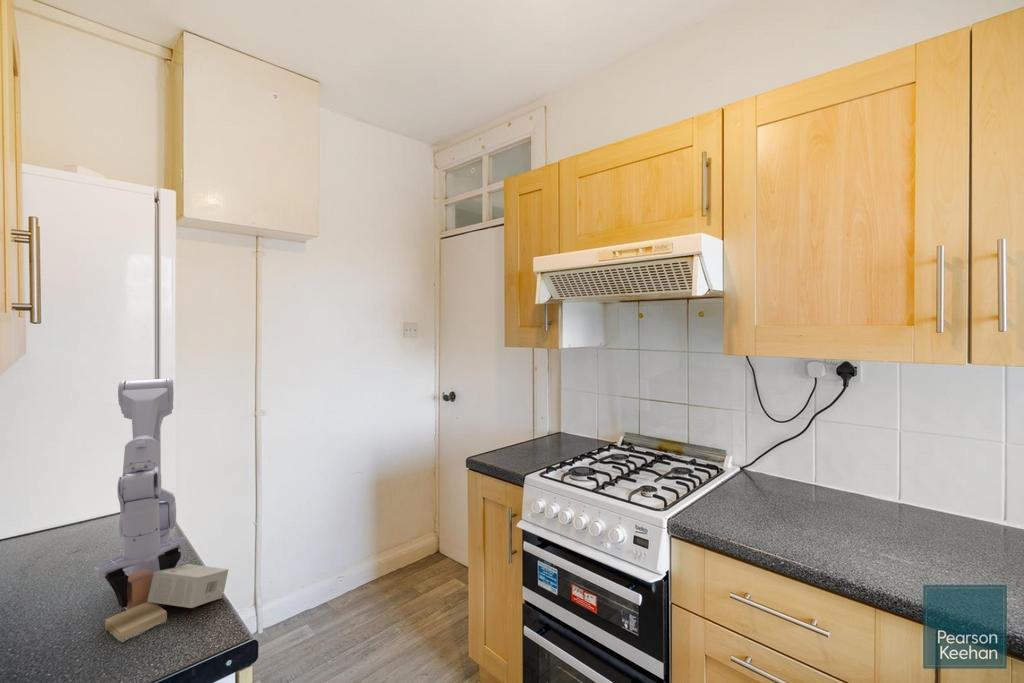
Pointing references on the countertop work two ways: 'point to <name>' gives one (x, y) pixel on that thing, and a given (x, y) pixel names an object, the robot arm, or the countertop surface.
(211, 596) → the small box
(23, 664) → the countertop surface
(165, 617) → the base slab
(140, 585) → the block
